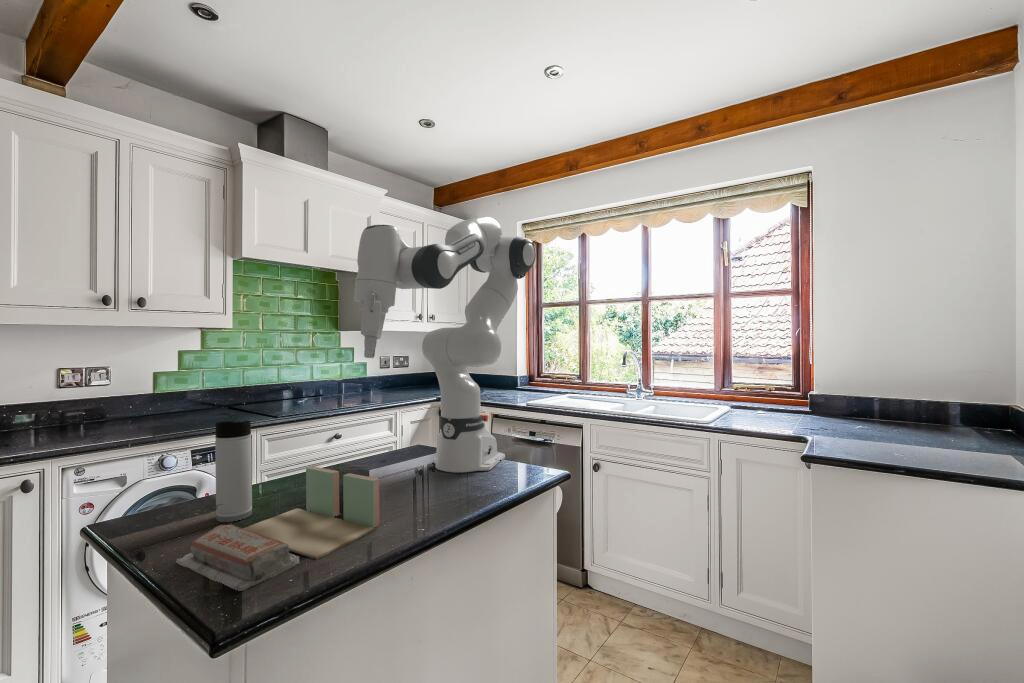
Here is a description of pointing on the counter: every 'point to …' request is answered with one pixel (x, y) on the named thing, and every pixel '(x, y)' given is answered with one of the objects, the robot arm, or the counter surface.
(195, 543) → the packaged product
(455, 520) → the counter surface
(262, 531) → the cork mat
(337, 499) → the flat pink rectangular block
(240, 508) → the travel mug
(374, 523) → the pink and green block
